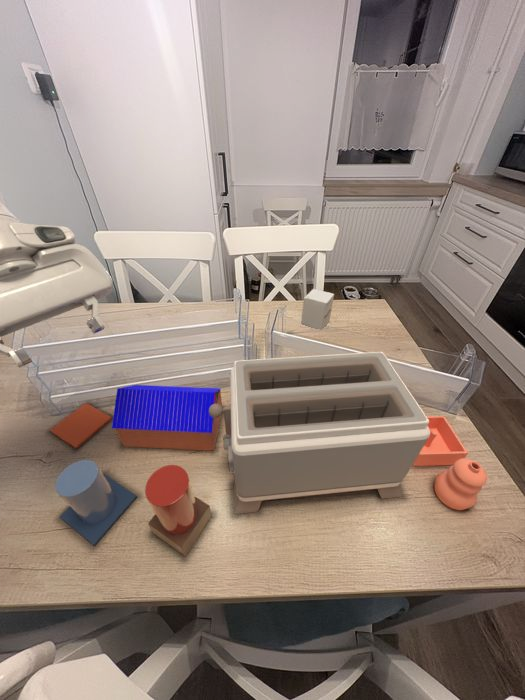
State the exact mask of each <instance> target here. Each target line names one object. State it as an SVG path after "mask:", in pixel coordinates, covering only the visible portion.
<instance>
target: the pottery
mask: <svg viewBox="0 0 525 700" xmlns="http://www.w3.org/2000/svg"><path fill="white" fill-rule="evenodd" d="M426 417H427V418H428V420H429V424H428V425H427V426H428V427H429V430H430V436H429V438H428V440H427V441H426V443H425V445H424V446H423V448H422V450H421V451H420V453H419V455H418V456H417V458H416V460H415V461H414V463H413V465H412V466H413V467H429V466H430V467H431V466H449V467H448V469H447V470H444V471H442V472H440V473H438V475H436V478H435V481H434V492H435V494H436V496H437V497H438V499H439V500H440V502H442V503H443V504H444V506H447V507H448V508H450V509H451V510H456V511H464V510H466V509H470V508H472V507H473V506H474V505H475V504H476V502H477V499H478V493H480V492H481V491H482V488H483V486H485V485H486V484H487V481H488V475H487V472H486V470H485V469H484V468H483V467H482V465H481V464H480V462H478V461H475V460H472V459H470V458H466V457H467V456H468V454H469V452H468V450H467V449H466V448H465V446H464V444H463V442H462V441H461V439H460V438H459V436H458V435H457V433H456V432H455V430H454V429H453V427H452V426H451V424H450V423H449V421H448V420H447V418H446V416H445V415H426Z"/></svg>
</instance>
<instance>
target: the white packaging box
mask: <svg viewBox="0 0 525 700" xmlns="http://www.w3.org/2000/svg"><path fill="white" fill-rule="evenodd" d="M334 297H335V293H332V292H328V291H325V290H322V289H321V290H320V289H316V288H312V289H311V290H310V291H309V292H308V293H307V294H306V295H305V296H304V297H303V301H302V313H301V319H300V320H301V321H300V325H301V324H302V325H305V326H308V327H311V328H315V329H320V330H322V329H323V328H324V327H326V326H327V324H328V323H329V324H330V320H331V315H332V310H333V304H334Z"/></svg>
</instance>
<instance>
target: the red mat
mask: <svg viewBox="0 0 525 700" xmlns="http://www.w3.org/2000/svg"><path fill="white" fill-rule="evenodd" d="M111 420H113V417H111V416H110V415H108V414H106V413H104V411H101V410H99V409H97V408H95V407H94V406H92V405H90V404H89V403H87V402H85V403H83V405H81V406H80V407H78V408H77V409H76V410H74V411H72V413H70V414H69V415H68V416H67V417H65V418H63V420H61V421H59V422H58V423H57V424H56V425H55V426H52V428H50V429H49V432H51V433H52V434H54V435H55V436H56V437H58V438H60V439H61V440H63V441H64V442H66V444H68V445H70V446H71V447H73V448H74V449H78V448H79V447H81V446H82V445H83V444H84V443H86V441H88V440H89V439H90V438H92V436H94V435H95V434H96V433H98V431H100V430H101V429H103V427H104V426H105V425H106V424H108V423H109V422H110V421H111Z"/></svg>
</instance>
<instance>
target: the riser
mask: <svg viewBox="0 0 525 700" xmlns="http://www.w3.org/2000/svg"><path fill="white" fill-rule="evenodd" d="M194 497H195V500H196V504H197V507H198V515H197V518H196V521H195V523H194V524H193V526H192V527H191V528H190V529H189V530H187V531H186V532H184V533H182V534H178V535H172V534H169V533H167V532H166V531H164V529H163V528H162V526H161V524H160V522H159V520H158V518H157V516H156V515H155V514H154V515H153V516H152V518H151V519H150V520H149V521H148V523H147V525H148V527H149V528H150V530H151V531H152V533H153V535H155V536H156V537H157V538H159V539H161V541H163V542H165V543H166V544H167V545H168V546H170V547H171V548H172V549H174V550H176V551H177V552H178V553H180V554H181V555H182V556H184V557H187V556H188V554H189V552H190V551H191V550H192V548H193V546H194V545H195V543H196V542H197V540H198V538H199V537H200V535H201V534H202V532H203V531H204V529H205V528H206V526H207V524H208V523H209V521H210V519H211V518H212V517H213V514H212V511H211V507H210V505H209V504H207V503H205V502H204V501H202V499H200V498H197V497H196V496H195V495H194Z"/></svg>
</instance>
